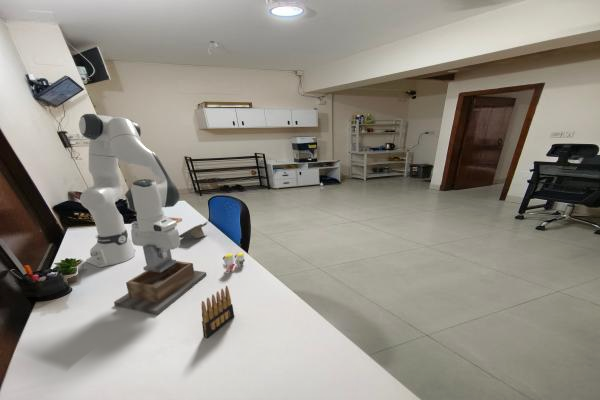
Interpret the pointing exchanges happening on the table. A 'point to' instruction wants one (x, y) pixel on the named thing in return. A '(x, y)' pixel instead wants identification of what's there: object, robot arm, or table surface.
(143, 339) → the table surface
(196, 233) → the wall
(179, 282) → the well box
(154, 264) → the metal bracket
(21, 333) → the table surface
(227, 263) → the toy figures
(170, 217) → the orange square frame
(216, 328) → the bullet clip
